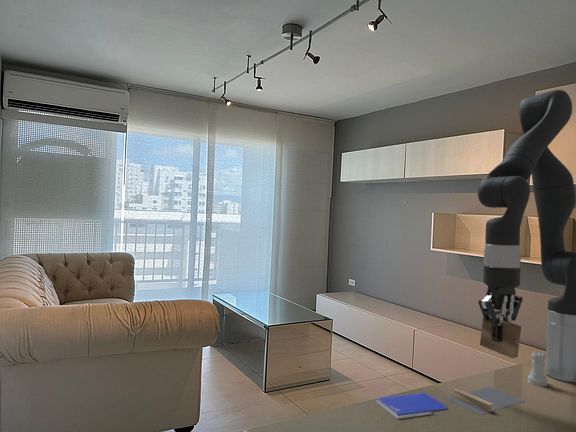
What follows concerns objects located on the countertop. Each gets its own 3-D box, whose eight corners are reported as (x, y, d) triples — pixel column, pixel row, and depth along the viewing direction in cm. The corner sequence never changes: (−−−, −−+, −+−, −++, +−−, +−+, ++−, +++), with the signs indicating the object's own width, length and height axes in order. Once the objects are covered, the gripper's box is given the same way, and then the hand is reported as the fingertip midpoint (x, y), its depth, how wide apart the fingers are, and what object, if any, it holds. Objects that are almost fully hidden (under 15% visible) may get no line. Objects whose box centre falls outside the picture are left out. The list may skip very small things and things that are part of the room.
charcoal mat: (489, 388, 105) (489, 386, 105) (525, 403, 97) (525, 401, 97) (444, 400, 97) (444, 398, 97) (479, 417, 89) (479, 415, 89)
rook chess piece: (551, 386, 109) (552, 354, 109) (542, 389, 106) (543, 356, 106) (532, 380, 112) (533, 349, 112) (523, 383, 110) (524, 351, 110)
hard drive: (397, 413, 87) (448, 407, 92) (376, 397, 95) (423, 391, 99) (397, 421, 87) (448, 414, 92) (376, 404, 95) (423, 398, 99)
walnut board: (485, 343, 103) (488, 315, 103) (517, 357, 97) (521, 326, 96) (479, 344, 102) (483, 316, 102) (512, 358, 96) (515, 327, 95)
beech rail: (456, 395, 99) (457, 388, 99) (492, 411, 91) (493, 404, 91) (452, 396, 98) (452, 389, 98) (488, 412, 91) (488, 405, 91)
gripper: (504, 261, 106) (503, 333, 106) (467, 263, 99) (466, 340, 99) (535, 265, 99) (533, 341, 99) (498, 267, 92) (496, 349, 92)
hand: (500, 340), depth 99 cm, fingers closed on walnut board, 1 cm apart
